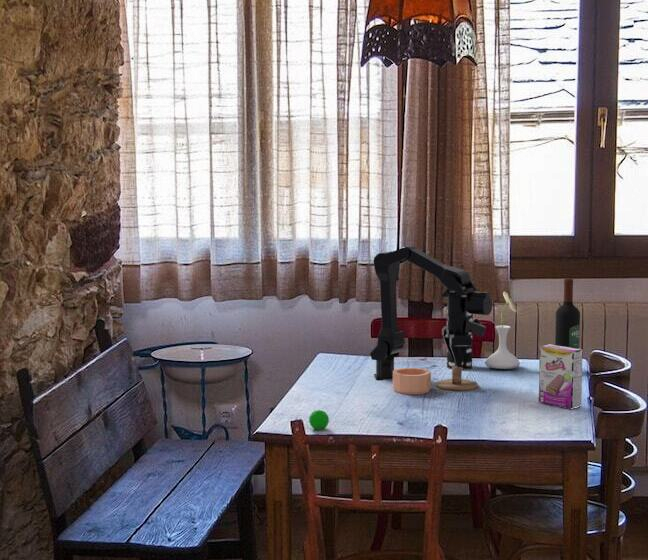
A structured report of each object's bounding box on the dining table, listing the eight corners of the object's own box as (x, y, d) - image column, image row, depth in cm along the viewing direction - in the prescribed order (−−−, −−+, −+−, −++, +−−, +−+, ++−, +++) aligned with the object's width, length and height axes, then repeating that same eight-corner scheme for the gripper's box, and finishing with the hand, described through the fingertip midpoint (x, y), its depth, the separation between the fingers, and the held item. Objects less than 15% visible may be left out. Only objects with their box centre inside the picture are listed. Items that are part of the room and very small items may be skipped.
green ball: (312, 425, 266) (312, 407, 265) (331, 427, 264) (330, 409, 264) (307, 430, 261) (306, 412, 260) (325, 432, 259) (325, 414, 259)
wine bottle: (560, 368, 333) (562, 277, 330) (582, 371, 329) (584, 278, 325) (550, 372, 327) (552, 279, 324) (573, 375, 323) (575, 281, 319)
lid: (433, 382, 312) (434, 363, 312) (472, 382, 313) (473, 362, 312) (440, 391, 301) (440, 371, 300) (480, 390, 301) (480, 370, 300)
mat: (430, 383, 313) (430, 381, 313) (475, 382, 314) (475, 381, 314) (437, 393, 300) (437, 392, 300) (484, 392, 300) (484, 391, 300)
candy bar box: (537, 403, 287) (538, 346, 285) (547, 400, 291) (548, 343, 289) (572, 410, 279) (573, 351, 277) (582, 407, 283) (583, 348, 281)
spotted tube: (473, 369, 333) (474, 309, 330) (448, 369, 333) (448, 309, 330) (470, 364, 341) (470, 305, 338) (445, 364, 341) (445, 305, 339)
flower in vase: (517, 372, 327) (518, 295, 324) (481, 370, 331) (482, 294, 328) (523, 364, 340) (524, 290, 337) (488, 362, 343) (489, 289, 340)
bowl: (391, 387, 309) (391, 368, 308) (427, 387, 309) (427, 367, 308) (395, 396, 298) (395, 376, 297) (432, 395, 298) (432, 375, 297)
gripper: (490, 317, 295) (489, 370, 297) (478, 307, 314) (477, 357, 316) (451, 317, 295) (451, 370, 297) (441, 307, 313) (441, 357, 315)
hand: (456, 363), depth 306 cm, fingers open, 9 cm apart
